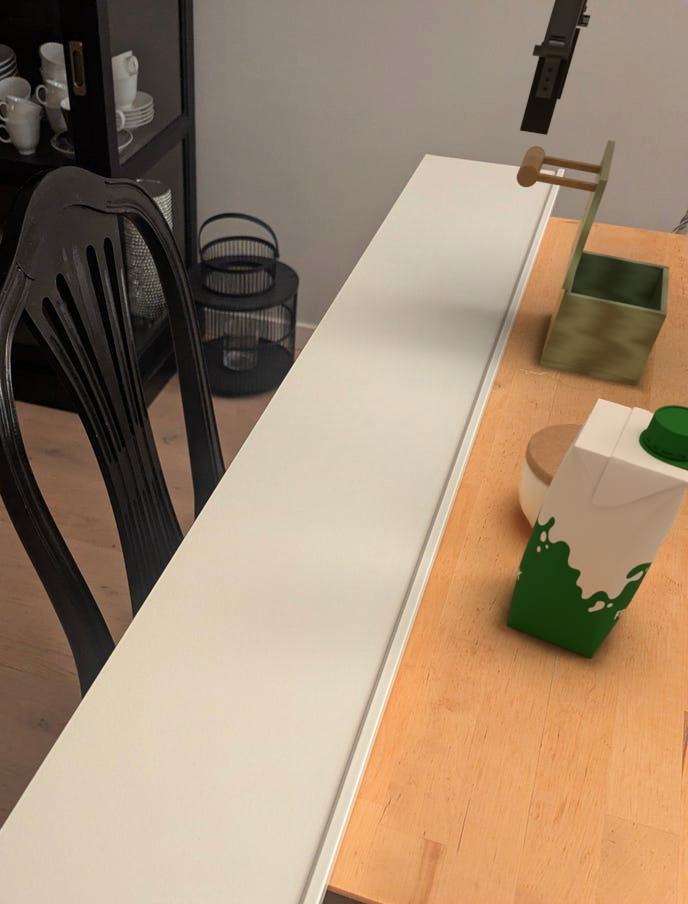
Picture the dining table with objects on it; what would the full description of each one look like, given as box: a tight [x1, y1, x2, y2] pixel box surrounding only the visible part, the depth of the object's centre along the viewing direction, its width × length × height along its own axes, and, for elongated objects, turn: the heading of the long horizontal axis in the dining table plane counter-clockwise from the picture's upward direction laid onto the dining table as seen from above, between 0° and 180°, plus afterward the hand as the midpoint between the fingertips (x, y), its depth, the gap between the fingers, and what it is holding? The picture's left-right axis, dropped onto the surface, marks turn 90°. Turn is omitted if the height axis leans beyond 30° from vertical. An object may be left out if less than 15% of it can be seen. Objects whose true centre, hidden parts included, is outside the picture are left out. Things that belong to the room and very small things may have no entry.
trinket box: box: [517, 423, 583, 530], centre depth 83 cm, size 11×11×9 cm
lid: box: [516, 140, 616, 290], centre depth 102 cm, size 12×13×9 cm
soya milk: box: [506, 398, 688, 659], centre depth 70 cm, size 9×9×20 cm
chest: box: [539, 249, 670, 387], centre depth 107 cm, size 11×13×9 cm
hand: (541, 113), depth 96 cm, fingers open, 13 cm apart
